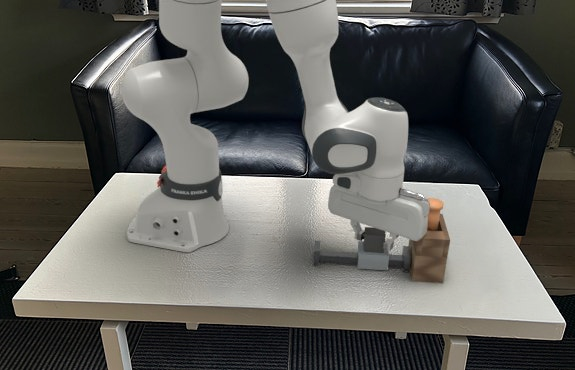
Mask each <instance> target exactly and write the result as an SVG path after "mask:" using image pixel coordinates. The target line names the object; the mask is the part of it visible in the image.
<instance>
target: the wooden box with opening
mask: <svg viewBox="0 0 575 370" xmlns="http://www.w3.org/2000/svg"><path fill="white" fill-rule="evenodd" d="M450 244H451V237H450V233H449V231H448V227H447V225H446V221H445V217H444V214H443V213H440V216H439V223H438V230H437V231H428V230H427V232H426V234H425V235H424V236H423V238H421V239H420V240H418V241H413V240H410V239H408V245H407V246H409V248H410V254H411V261H410V269H409V273H410V277H411V282H417V283H419V282H420V283H434V284H444V279H445V274H446V270H447V269H446V268H447V261H448V256H449V250H450Z"/></svg>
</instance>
